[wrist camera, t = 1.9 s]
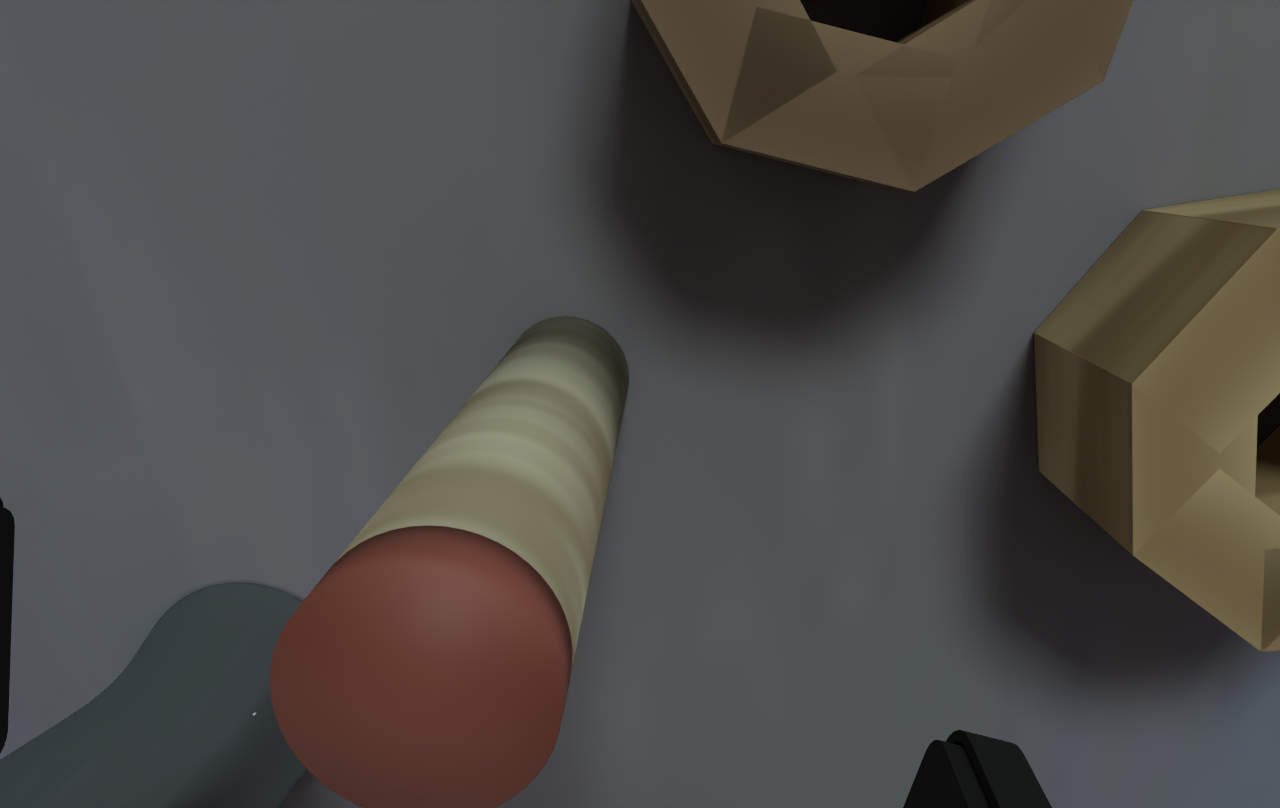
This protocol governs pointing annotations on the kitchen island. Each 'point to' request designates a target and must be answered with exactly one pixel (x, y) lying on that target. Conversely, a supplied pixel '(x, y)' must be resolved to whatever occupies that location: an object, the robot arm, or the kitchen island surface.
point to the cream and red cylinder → (463, 592)
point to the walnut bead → (880, 79)
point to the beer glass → (174, 718)
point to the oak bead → (1176, 402)
